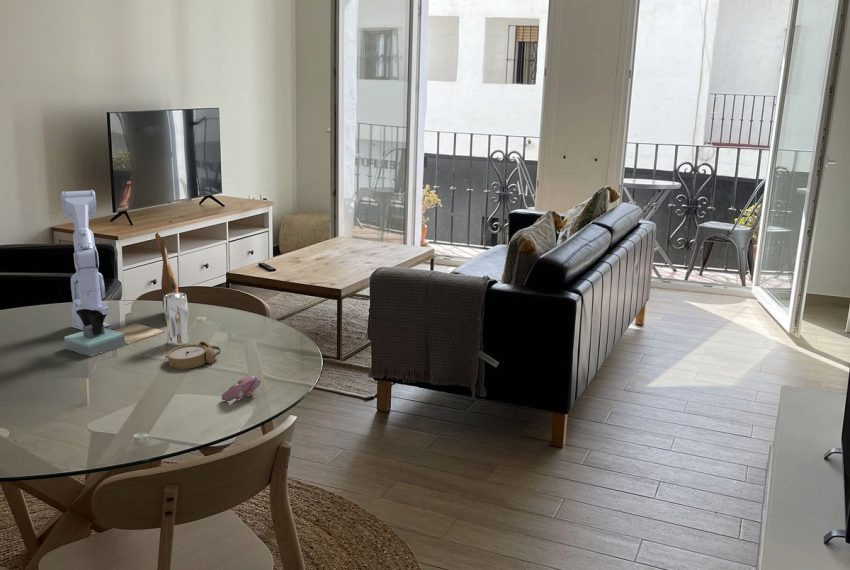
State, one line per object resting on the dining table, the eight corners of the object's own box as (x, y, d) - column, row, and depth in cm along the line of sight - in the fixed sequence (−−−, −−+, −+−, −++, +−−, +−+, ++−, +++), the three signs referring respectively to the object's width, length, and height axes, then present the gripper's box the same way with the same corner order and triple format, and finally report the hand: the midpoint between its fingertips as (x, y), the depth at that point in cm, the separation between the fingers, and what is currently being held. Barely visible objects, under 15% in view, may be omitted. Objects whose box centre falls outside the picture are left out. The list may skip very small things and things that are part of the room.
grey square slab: (65, 348, 246) (64, 339, 245) (100, 337, 256) (99, 328, 255) (90, 357, 240) (89, 347, 239) (125, 345, 250) (124, 336, 249)
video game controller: (231, 410, 209) (238, 390, 206) (218, 399, 211) (226, 379, 207) (257, 397, 217) (265, 378, 214) (246, 387, 219) (253, 367, 215)
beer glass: (193, 339, 256) (190, 292, 252) (185, 346, 249) (181, 299, 245) (172, 338, 256) (168, 291, 252) (162, 345, 250) (159, 298, 246)
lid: (64, 339, 245) (62, 327, 244) (99, 328, 255) (98, 317, 254) (89, 347, 239) (88, 334, 238) (124, 336, 249) (123, 324, 248)
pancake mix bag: (160, 326, 267) (153, 241, 260) (161, 309, 285) (154, 229, 277) (182, 324, 269) (176, 240, 262) (181, 307, 287) (175, 228, 279)
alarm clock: (163, 349, 239) (213, 334, 244) (167, 365, 240) (217, 349, 246) (170, 362, 229) (222, 345, 235) (174, 378, 231) (226, 361, 236)
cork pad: (98, 335, 258) (98, 334, 258) (135, 324, 269) (135, 323, 269) (127, 344, 250) (127, 343, 250) (164, 332, 262) (164, 331, 262)
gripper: (62, 288, 243) (67, 331, 247) (93, 296, 236) (97, 341, 240) (83, 283, 249) (87, 325, 253) (114, 290, 242) (118, 334, 245)
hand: (94, 333), depth 247 cm, fingers closed on lid, 3 cm apart
